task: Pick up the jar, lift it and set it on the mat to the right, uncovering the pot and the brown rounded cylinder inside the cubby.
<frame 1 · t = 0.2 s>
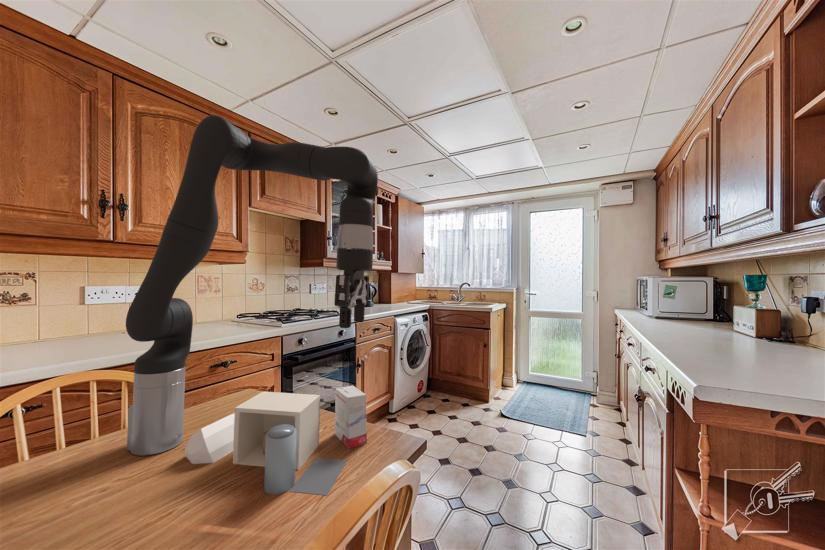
hand: (352, 324, 68), 29 cm above the table, tool pointing down, fingers open, 8 cm apart
crystal: (237, 442, 76), on the table
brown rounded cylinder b: (283, 455, 69), point 1 cm above the table, touching cubby
ink box: (349, 441, 77), on the table
cubby: (278, 456, 69), on the table
mat: (320, 478, 62), on the table
jar: (279, 488, 59), on the table
pot a: (271, 451, 70), point 1 cm above the table, touching cubby
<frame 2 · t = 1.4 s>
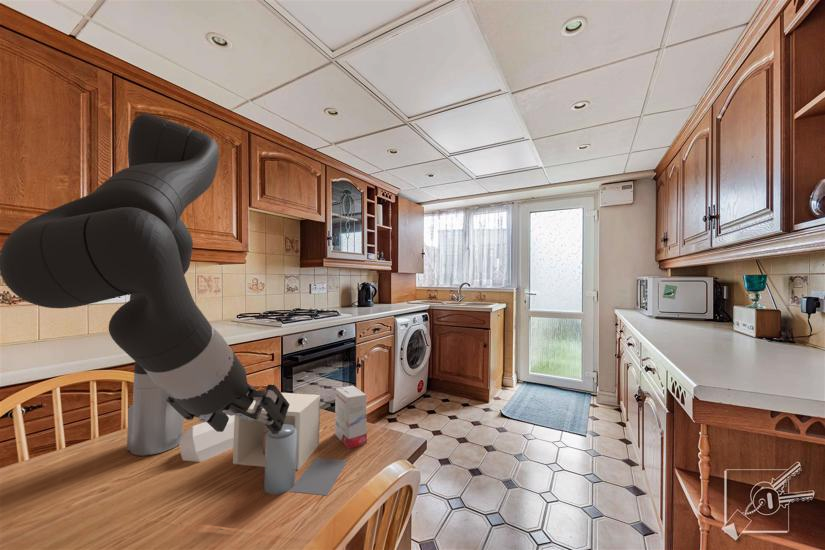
hand: (250, 426, 48), 16 cm above the table, tool tilted 45°, fingers open, 8 cm apart
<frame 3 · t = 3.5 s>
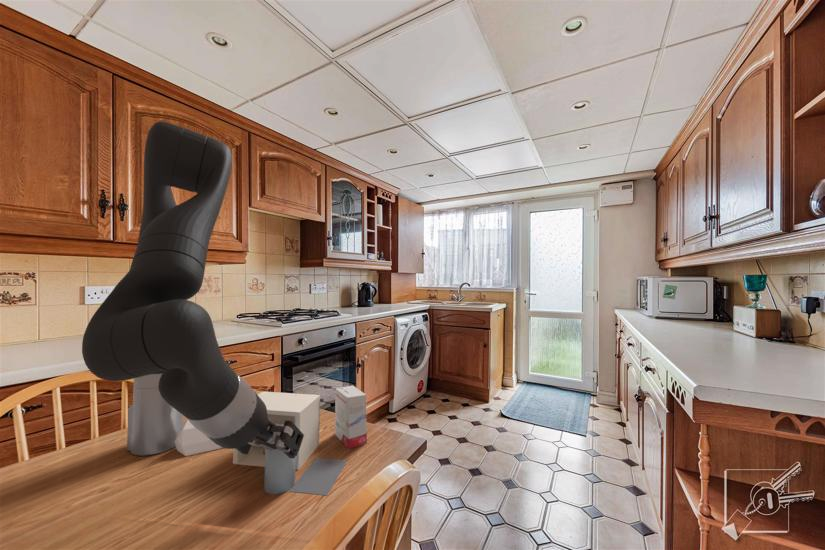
hand: (271, 450, 55), 9 cm above the table, tool tilted 45°, fingers open, 8 cm apart
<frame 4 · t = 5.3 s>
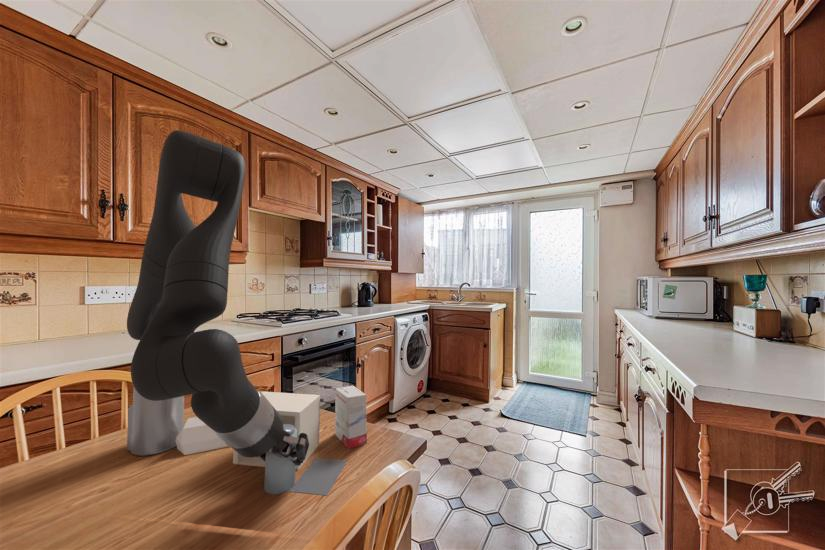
hand: (285, 458, 60), 4 cm above the table, tool tilted 45°, fingers closed on jar, 5 cm apart
jar: (279, 487, 59), on the table, touching gripper
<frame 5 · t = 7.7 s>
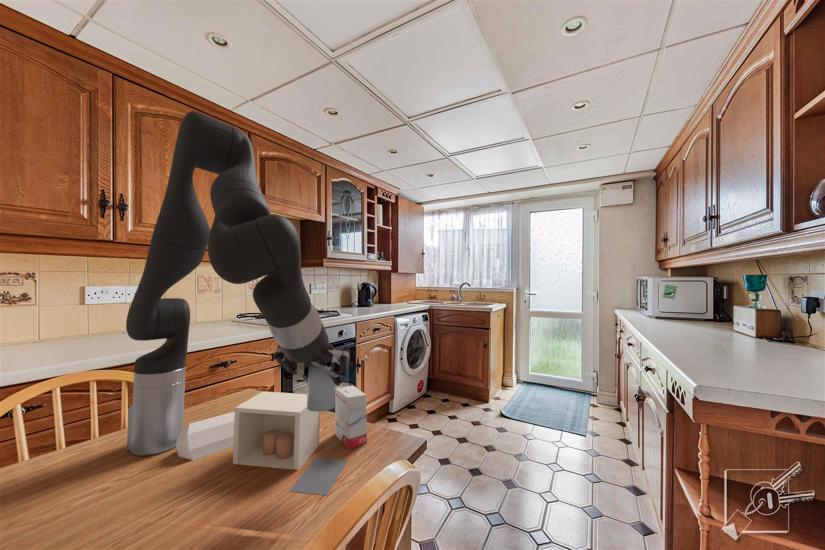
hand: (325, 380, 64), 18 cm above the table, tool tilted 45°, fingers closed on jar, 5 cm apart
jar: (321, 406, 62), point 14 cm above the table, touching gripper
when the fingers open (6 cm above the table, at t = 10.5 s): jar drops 1 cm, resting on mat.
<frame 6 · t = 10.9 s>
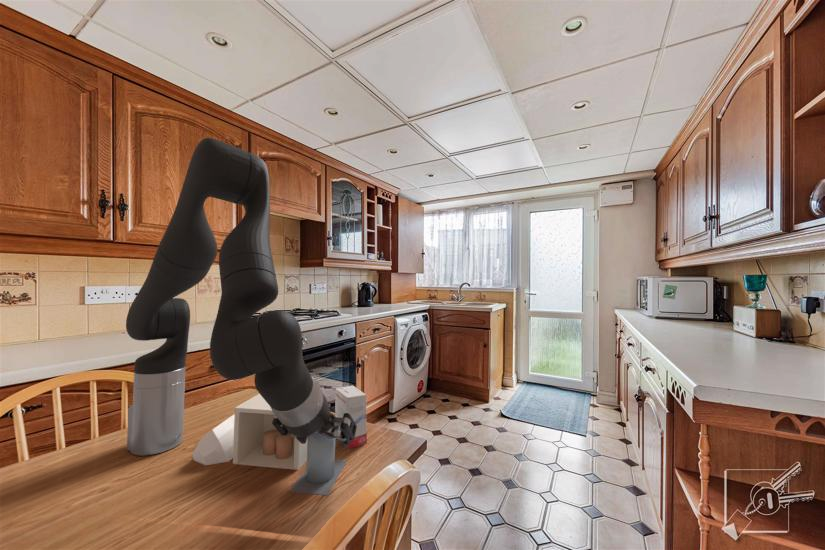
hand: (325, 440, 63), 7 cm above the table, tool tilted 45°, fingers open, 8 cm apart
jar: (320, 475, 62), point 1 cm above the table, touching mat
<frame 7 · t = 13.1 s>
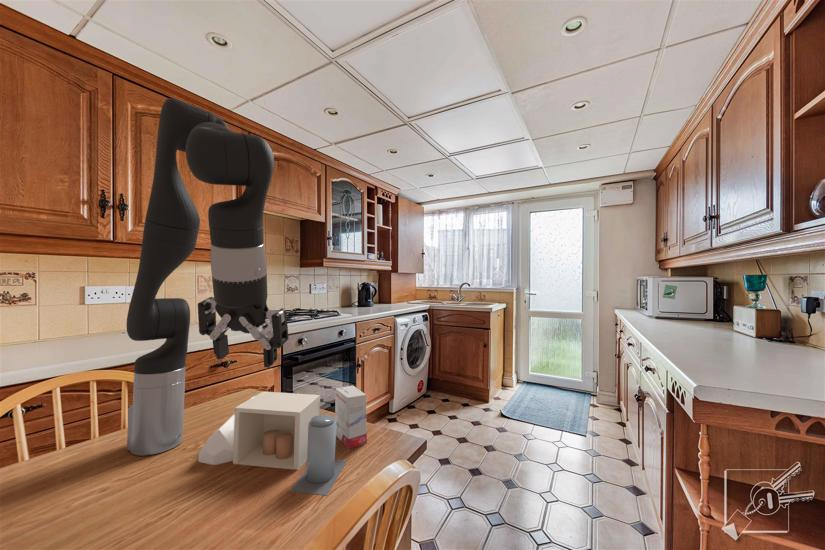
hand: (245, 360, 55), 24 cm above the table, tool tilted 20°, fingers open, 8 cm apart
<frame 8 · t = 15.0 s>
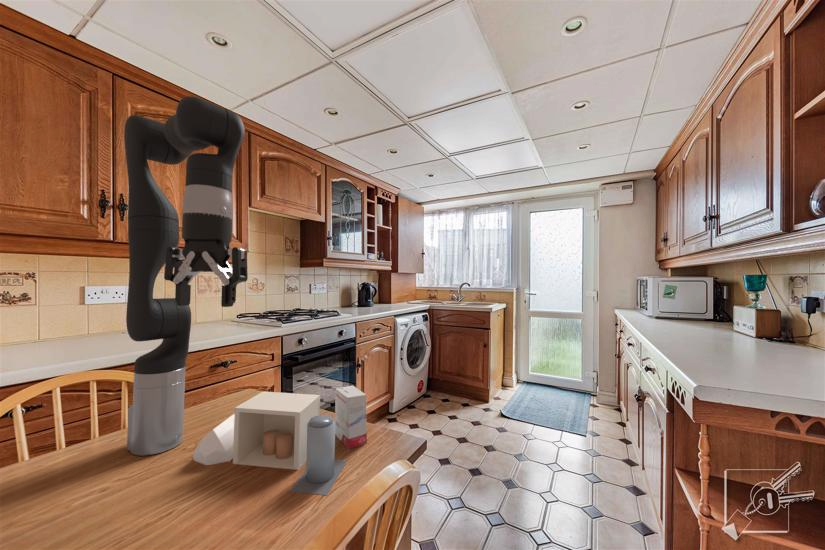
hand: (205, 306, 57), 33 cm above the table, tool pointing down, fingers open, 8 cm apart
at the end: jar inside the target area (0.1 cm from its centre), point 0.6 cm above the table; jar tilted 1°; the gripper is holding nothing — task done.
